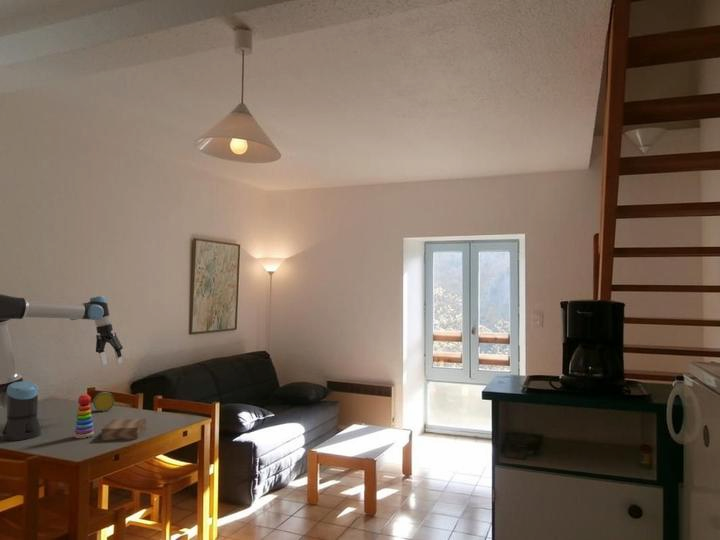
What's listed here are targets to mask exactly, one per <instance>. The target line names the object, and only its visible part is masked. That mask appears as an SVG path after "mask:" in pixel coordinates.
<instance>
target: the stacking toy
mask: <svg viewBox="0 0 720 540" xmlns="http://www.w3.org/2000/svg"><path fill="white" fill-rule="evenodd" d="M91 401H92V398H91V395H90V394H87V393H84V394H81V395H80V396H79V397H78V399H77V402H78V404H79V406H78V407H77V415H76V421H75V422H76V424H75V429H74V435H73V436H74V438H75V439H87V438H86V437H88V438H91V437H93V436H94V435H95V432H94V430H95V429H94V422H93V421H94V420H93V418H92V417H93V415H92V410H91V408H92V407H91V405H90V403H91ZM90 436H91V437H90Z"/></svg>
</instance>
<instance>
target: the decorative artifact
mask: <svg viewBox="0 0 720 540" xmlns="http://www.w3.org/2000/svg"><path fill="white" fill-rule="evenodd" d="M92 402H93V403H92V404H93V406H94V409H95V410H96V411H98V412H100V411H105V412H108V411H110V410H111V409H112V408H113V406H114V405H115V398H114V396H113V394H111V393H110V392H108V391H102V392H100V393H98V394H96V395H95V396H94V398H93V401H92Z"/></svg>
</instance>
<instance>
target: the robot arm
mask: <svg viewBox="0 0 720 540" xmlns="http://www.w3.org/2000/svg"><path fill="white" fill-rule="evenodd" d="M108 306H109V304H108V301H107V298H106V296H105V295H100V296H99V295H98V296H94V297H93V296H92V297H90V299H89V301H88V302H82V303H74V302H57V301H41V300H40V301H39V300H27V299H26V298H25V297H17V296H16V297H15V296H11V295H7V294H2V293H0V407H1V408H5V409H6V421H5V424H4V426H3V429H2V431H1V440H3V441H8V440H9V442H10V441H23V440H28V439H29V440H30V439H33V438H36V437H38V436H40V435H42V431H43V430H42V425H41V423H40V420H39V417H38V406H39V405H38V403H39V401H38V400H39V387H38V384H36V383H35V382H33V381H24V379H23V376H22V375H21V374H19V373H18V369H17V365H16V361H15V355H14V352H13V351H14V350H13V346H12V342H11V341H12V340H11V337H10V333H9V328H8V324H9V323H10V321H11V320H23V319H24V318H42V319H46V318H47V319H69V320H70V321H76V320H77V321H78V320H91V321H94V324H95V326H96V328H95V329H96V333H97V334H96V336H95V338H96V344H95V352H96V353H98V355H99V358H100V363H101V366H104V365H107V364H108V361H107V357H106V352H105V347H106V344H107V343H108V344H110V346H111V347H112V348H113V350H114V354H115V360H116V364H117V365H119V364H122V363H123V357H122V351H121V350H123V349H124V346H123V345H122V343H121V341H120V340H119V338H118V336H117V334H116V332H112V331H113V324H111V323H112V321H111V315H110V311H109V307H108Z"/></svg>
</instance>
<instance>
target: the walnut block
mask: <svg viewBox="0 0 720 540" xmlns="http://www.w3.org/2000/svg"><path fill="white" fill-rule="evenodd" d="M146 430H147V418H135V419H134V418H132V419H127V418H126V419H112V420H110V421H109V422H108V423H107V424H105V425H104V426H103V427H102V428H101V430H100V431H101V432H100V433H101V436H100V437H101V438H100V439H101V441H109V440H108V439H124V440H138V439H139V438H138V437H139V436H140V437H141V436H142V435H143V433H144V432H145V431H146ZM105 439H107V440H105Z"/></svg>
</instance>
